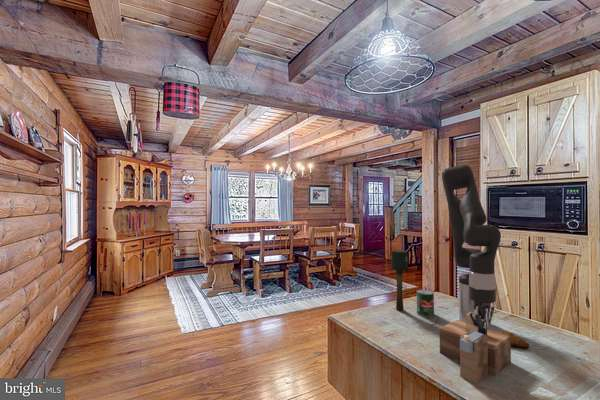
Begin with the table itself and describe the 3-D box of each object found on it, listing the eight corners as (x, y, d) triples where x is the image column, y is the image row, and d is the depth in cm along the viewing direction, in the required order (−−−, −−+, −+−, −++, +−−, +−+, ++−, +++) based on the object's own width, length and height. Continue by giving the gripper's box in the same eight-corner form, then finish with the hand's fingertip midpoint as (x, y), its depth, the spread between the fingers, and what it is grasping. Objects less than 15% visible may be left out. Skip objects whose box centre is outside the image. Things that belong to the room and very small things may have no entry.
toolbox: (457, 342, 117) (457, 310, 117) (510, 362, 103) (510, 325, 103) (426, 360, 104) (425, 324, 104) (482, 386, 90) (481, 344, 90)
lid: (457, 322, 117) (457, 304, 117) (510, 338, 103) (509, 318, 103) (440, 330, 109) (439, 311, 109) (494, 350, 95) (494, 327, 95)
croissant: (485, 341, 118) (485, 328, 118) (489, 335, 123) (489, 323, 123) (528, 353, 109) (527, 339, 109) (530, 346, 114) (530, 333, 114)
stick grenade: (410, 313, 148) (409, 252, 148) (391, 312, 149) (391, 252, 150) (407, 307, 156) (406, 249, 156) (390, 306, 158) (389, 249, 158)
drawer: (474, 340, 99) (474, 327, 99) (484, 343, 96) (484, 330, 96) (459, 349, 93) (459, 335, 93) (469, 353, 90) (469, 339, 90)
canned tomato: (425, 310, 152) (424, 288, 152) (437, 315, 145) (437, 292, 145) (413, 312, 149) (412, 290, 149) (425, 318, 142) (425, 294, 142)
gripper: (478, 280, 106) (479, 329, 106) (460, 286, 98) (461, 339, 98) (503, 284, 100) (503, 337, 100) (485, 291, 92) (486, 348, 92)
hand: (482, 338), depth 99 cm, fingers closed
